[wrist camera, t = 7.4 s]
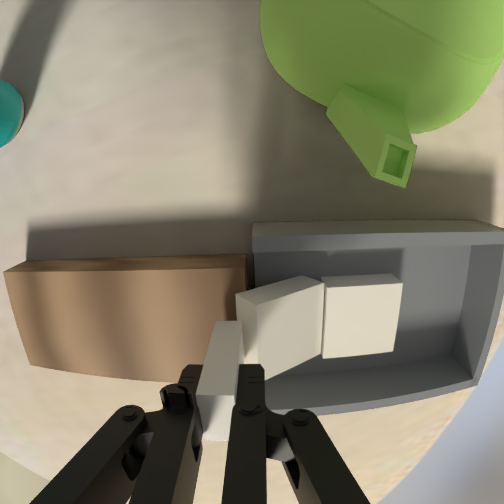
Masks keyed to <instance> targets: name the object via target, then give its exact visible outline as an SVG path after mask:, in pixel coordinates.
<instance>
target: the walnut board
mask: <svg viewBox="0 0 504 504" xmlns="http://www.w3.org/2000/svg"><path fill="white" fill-rule="evenodd" d="M3 273H4V278H5V282H6V287H7V291H8V295H9V299H10V303H11V306H12V310H13V313H14V317H15V320H16V324H17V327H18V330H19V333H20V336H21V339H22V342H23V345H24V348H25V351H26V354H27V357H28V359H29V362H30V365H34V366H39V367H44V368H49V369H55V370H61V371H67V372H74V373H80V374H87V375H95V376H103V377H112V378H121V379H131V380H143V381H156V382H173V383H178V381H179V378H180V375H181V372H182V370H183V369H184V368H185V367H186V366H187V365H188V364H201V365H204V361H205V358H206V354H207V350H208V347H209V343H210V339H211V336H212V332H213V329H214V325H215V321H237V313H236V297H235V294H237V293H241V292H244V291H248V281H247V259H246V254H227V255H197V256H167V257H136V258H105V259H74V260H42V261H24V262H22V263H20V264H18V265H16V266H14V267H12V268H10V269H8V270H6V271H4V272H3Z"/></svg>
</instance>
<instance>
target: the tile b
mask: <svg viewBox="0 0 504 504" xmlns="http://www.w3.org/2000/svg"><path fill="white" fill-rule="evenodd" d="M321 282H324V305H323V325H322V341H321V354H322V357H323V359H325V358H337V357H348V356H358V355H367V354H376V353H384V352H392V351H393V348H394V342H395V336H396V330H397V324H398V317H399V310H400V303H401V295H402V287H403V283H402V282H401V281H400V280H399V279H398V278H396V277H395V276H394V275H393V274H392V273H388V274H370V275H350V276H329V277H321Z"/></svg>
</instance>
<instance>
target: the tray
mask: <svg viewBox="0 0 504 504" xmlns="http://www.w3.org/2000/svg"><path fill="white" fill-rule="evenodd" d="M252 253H254V269H255V288H258V287H262V286H265V285H269V284H272V283H276V282H279V281H283V280H286V279H290V278H293V277H297V276H300V275H303V276H306V277H309V278H312V279H315V280H318V281H321V277H329V276H350V275H370V274H388V273H392V274H393V275H394V276H395V277H396V278H398V279H399V280H400V281H401V282H402V283H403V287H402V295H401V303H400V310H399V317H398V324H397V330H396V336H395V342H394V348H393V351H392V352H384V353H376V354H367V355H358V356H348V357H337V358H325V359H323V357H322V354H319V355H317V356H315V357H313V358H311V359H309V360H307V361H305V362H303V363H301V364H299V365H297V366H295V367H293V368H290V369H288V370H286V371H284V372H282V373H280V374H278V375H276V376H273V377H271V378H269V379H267V380H265V403H266V406H267V408H268V409H269V410H271V411H272V412H274V413H278V414H282V415H285V414H286V413H287V412H288V411H291V410H293V409H307V410H310V411H312V412H313V413H314V414H315V415H316V416H318V415H329V414H338V413H346V412H354V411H361V410H368V409H375V408H381V407H387V406H392V405H398V404H403V403H408V402H413V401H418V400H422V399H427V398H431V397H435V396H439V395H443V394H447V393H451V392H455V391H459V390H462V389H466V388H469V387H473V386H476V385H478V382H479V380H480V377H481V374H482V371H483V368H484V365H485V362H486V359H487V356H488V353H489V349H490V346H491V343H492V339H493V336H494V332H495V328H496V324H497V320H498V316H499V312H500V308H501V304H502V299H503V294H504V229H503V228H500V227H497V226H494V225H491V224H488V223H485V222H482V221H478V220H334V221H291V222H259V223H253V227H252Z"/></svg>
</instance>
